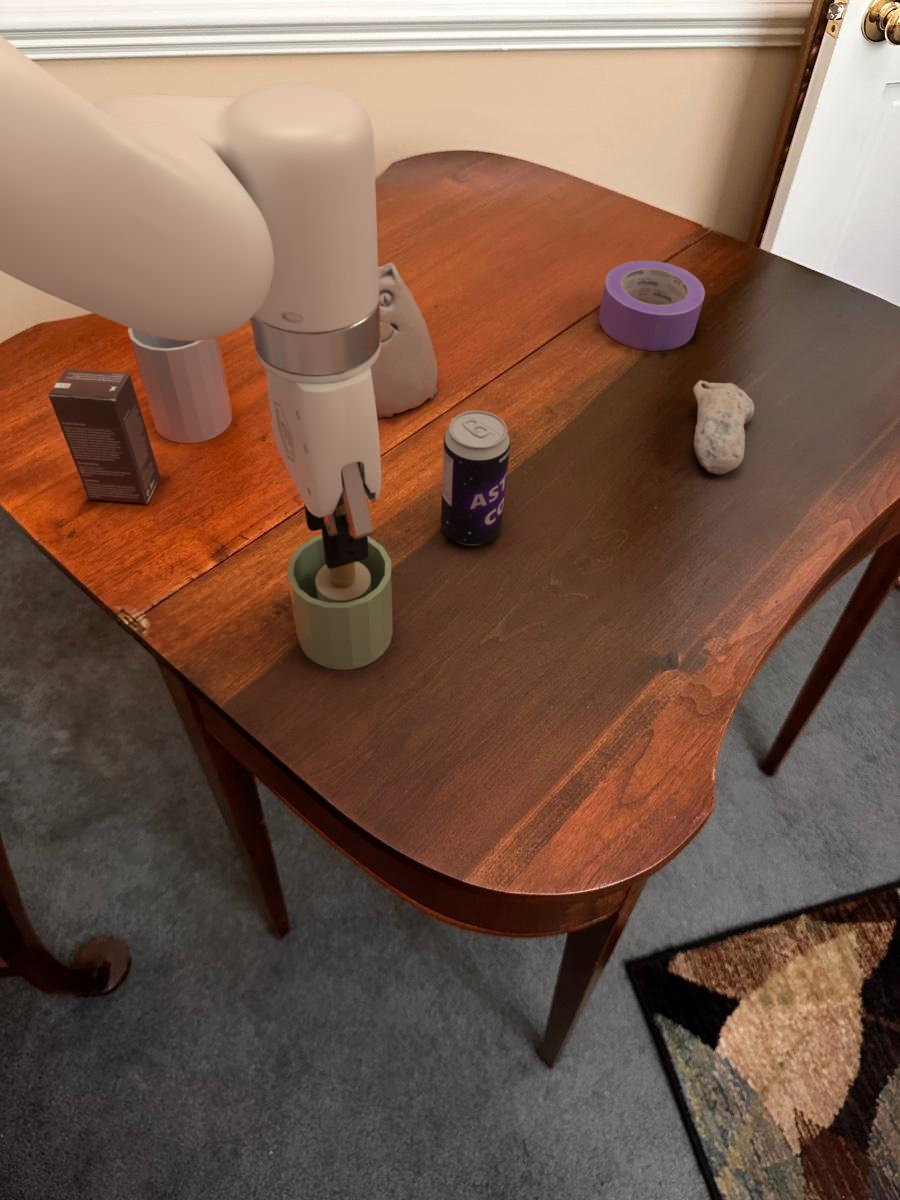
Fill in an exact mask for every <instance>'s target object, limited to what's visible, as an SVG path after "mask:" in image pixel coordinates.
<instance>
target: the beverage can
mask: <svg viewBox="0 0 900 1200" xmlns="http://www.w3.org/2000/svg"><path fill="white" fill-rule="evenodd" d="M508 433H509V432H508V427H507V424H506V423H505V422H504V420H503V419H502V418H501V417H500V416H499V415H496V414H494V413H491V412H489V411H485V410H467V411H464V412H461V413H459V414H457V415H456V416H454V417H453V418H452V419H451V420H450V423H449V425H448V428H447V430H446V431H445V434H444V437H443V450H442V451H443V452H442V453H443V454H442V476H441V477H442V478H441V480H442V481H441V505H440V506H441V507H440V526H441V529H442V531H443V532H444V534H445V535H446V536H447V537H448V538H449V539H451V540H453V541H455V542H457V543H458V544H461V545H465V546H479V545H482V544H484V543H488V542H490V541H492V540H493V539H494V538H496V537H497V536H498V535H499V533H500V531H501V529H502V522H503V515H504V514H503V513H504V505H505V496H506V488H507V487H506V486H507V478H508V469H509V459H510V450H511V437H510V435H509V434H508Z"/></svg>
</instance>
